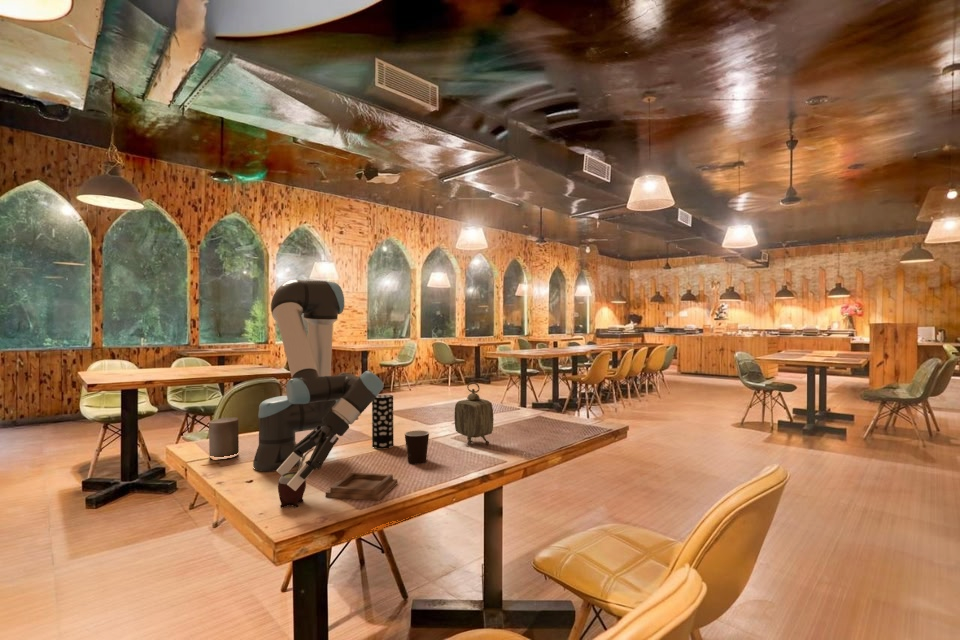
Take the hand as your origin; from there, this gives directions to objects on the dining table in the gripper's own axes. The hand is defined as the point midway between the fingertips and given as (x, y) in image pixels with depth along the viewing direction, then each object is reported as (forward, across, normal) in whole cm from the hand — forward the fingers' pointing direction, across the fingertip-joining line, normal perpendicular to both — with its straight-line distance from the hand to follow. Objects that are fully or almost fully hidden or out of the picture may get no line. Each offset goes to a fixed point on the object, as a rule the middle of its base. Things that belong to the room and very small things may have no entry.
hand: (285, 480), depth 124 cm
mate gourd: (+3, 0, -6) cm, 7 cm away
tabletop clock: (-49, +23, -59) cm, 80 cm away
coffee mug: (-29, +16, -39) cm, 51 cm away
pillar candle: (+11, +63, +1) cm, 64 cm away
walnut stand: (-10, -1, -20) cm, 22 cm away
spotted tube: (-27, +42, -37) cm, 62 cm away
